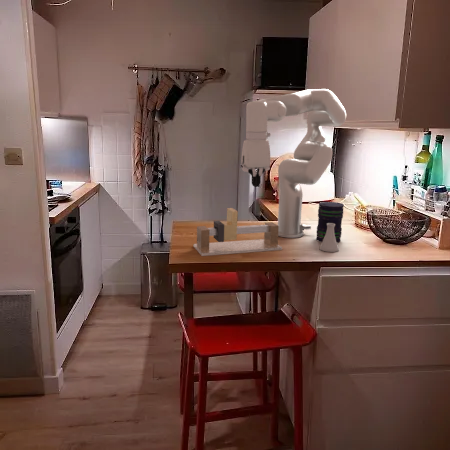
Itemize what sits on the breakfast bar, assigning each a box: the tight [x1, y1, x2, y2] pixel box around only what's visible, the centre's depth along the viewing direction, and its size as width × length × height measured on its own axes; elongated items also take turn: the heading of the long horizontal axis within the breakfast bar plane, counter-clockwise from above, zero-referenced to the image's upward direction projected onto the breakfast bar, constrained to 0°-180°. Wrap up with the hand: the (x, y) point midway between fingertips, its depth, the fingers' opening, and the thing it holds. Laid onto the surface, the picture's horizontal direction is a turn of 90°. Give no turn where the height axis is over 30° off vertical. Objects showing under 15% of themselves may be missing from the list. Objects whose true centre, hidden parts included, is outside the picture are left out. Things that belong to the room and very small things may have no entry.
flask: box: [319, 223, 339, 253], centre depth 166 cm, size 7×7×10 cm
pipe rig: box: [193, 221, 283, 257], centre depth 165 cm, size 31×12×8 cm, turn 108°
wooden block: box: [220, 207, 239, 241], centre depth 162 cm, size 5×6×11 cm
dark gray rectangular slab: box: [213, 220, 225, 242], centre depth 162 cm, size 2×6×6 cm, turn 19°
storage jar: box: [315, 201, 345, 244], centre depth 178 cm, size 10×10×15 cm
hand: (256, 186), depth 166 cm, fingers closed
